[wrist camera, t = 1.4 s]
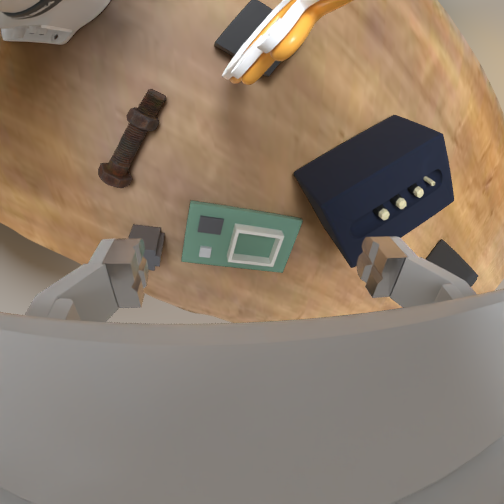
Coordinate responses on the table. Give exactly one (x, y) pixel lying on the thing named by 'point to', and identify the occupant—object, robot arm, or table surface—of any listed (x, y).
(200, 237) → the board
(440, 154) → the speaker
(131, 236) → the plug
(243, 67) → the lamp
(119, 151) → the bolt
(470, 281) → the card reader
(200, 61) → the table surface
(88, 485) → the robot arm
